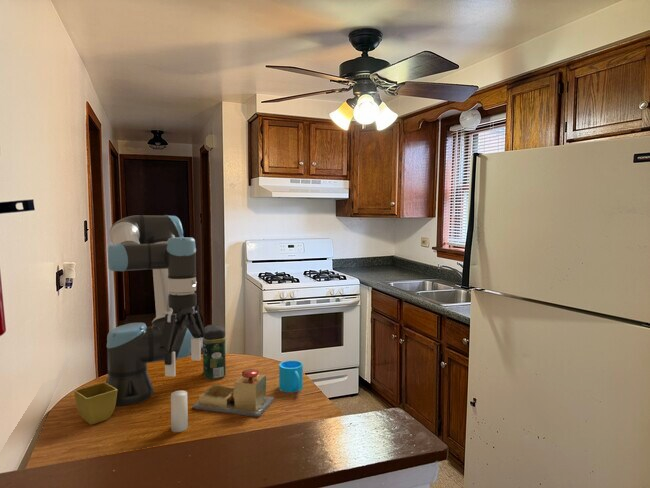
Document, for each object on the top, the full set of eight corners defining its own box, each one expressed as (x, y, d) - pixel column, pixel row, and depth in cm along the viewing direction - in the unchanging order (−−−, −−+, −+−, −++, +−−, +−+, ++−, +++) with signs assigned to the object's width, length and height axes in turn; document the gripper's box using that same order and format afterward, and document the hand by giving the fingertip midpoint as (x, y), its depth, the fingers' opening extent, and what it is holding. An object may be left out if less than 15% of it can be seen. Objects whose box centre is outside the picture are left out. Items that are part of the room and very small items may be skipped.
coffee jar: (201, 372, 165) (201, 324, 164) (222, 369, 168) (222, 322, 167) (205, 381, 156) (204, 330, 155) (227, 378, 160) (227, 328, 158)
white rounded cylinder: (168, 430, 122) (167, 396, 121) (177, 423, 126) (176, 389, 125) (182, 433, 121) (181, 397, 120) (190, 425, 125) (190, 391, 124)
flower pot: (105, 409, 134) (104, 381, 133) (119, 418, 128) (118, 388, 128) (74, 420, 127) (73, 390, 126) (87, 430, 122) (86, 398, 121)
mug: (276, 385, 154) (276, 362, 154) (297, 381, 158) (297, 359, 157) (287, 398, 143) (287, 374, 143) (310, 394, 147) (310, 370, 146)
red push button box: (193, 408, 136) (192, 373, 135) (212, 392, 147) (212, 360, 146) (259, 417, 130) (259, 381, 129) (274, 400, 142) (274, 367, 141)
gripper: (169, 301, 109) (171, 384, 110) (215, 286, 134) (216, 355, 135) (142, 300, 111) (144, 382, 112) (193, 285, 135) (194, 353, 136)
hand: (183, 367), depth 123 cm, fingers open, 13 cm apart
